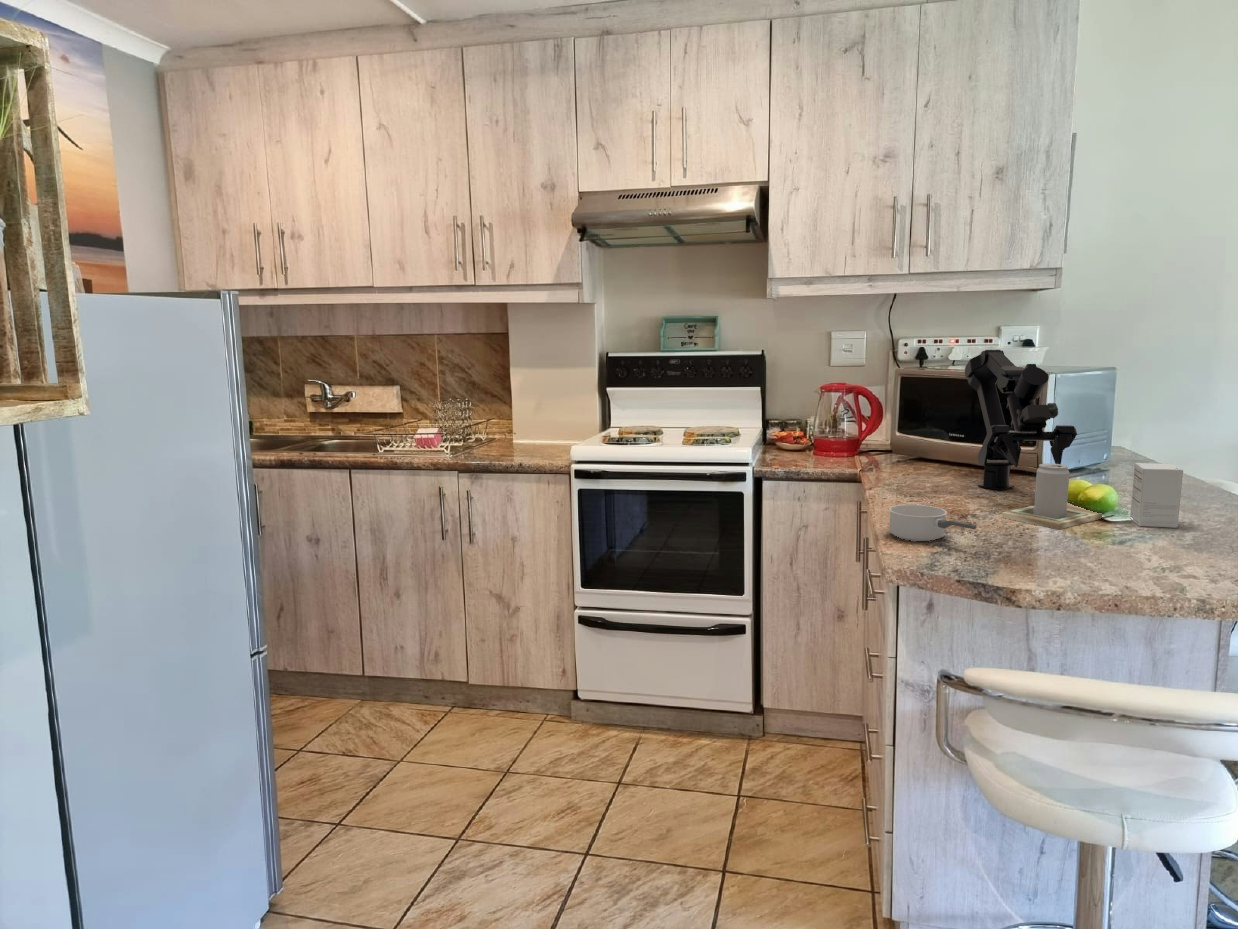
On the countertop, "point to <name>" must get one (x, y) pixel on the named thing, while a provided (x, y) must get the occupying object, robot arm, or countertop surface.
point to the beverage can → (1051, 491)
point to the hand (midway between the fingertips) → (1037, 466)
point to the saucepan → (920, 522)
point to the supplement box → (1156, 495)
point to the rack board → (1072, 518)
